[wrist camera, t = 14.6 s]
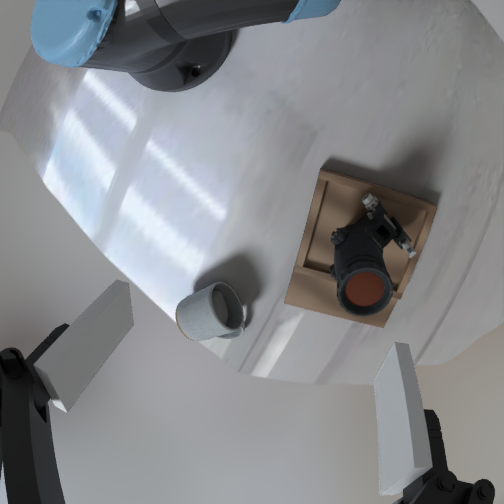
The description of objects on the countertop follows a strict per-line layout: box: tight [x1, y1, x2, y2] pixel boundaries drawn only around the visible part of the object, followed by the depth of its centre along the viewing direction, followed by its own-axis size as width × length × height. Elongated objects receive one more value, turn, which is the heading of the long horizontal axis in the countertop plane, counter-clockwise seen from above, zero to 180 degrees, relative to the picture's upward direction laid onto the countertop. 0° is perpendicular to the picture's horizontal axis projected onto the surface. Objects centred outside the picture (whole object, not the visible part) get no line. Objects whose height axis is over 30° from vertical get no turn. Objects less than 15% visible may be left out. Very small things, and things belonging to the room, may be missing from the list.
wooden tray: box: [284, 168, 437, 328], centre depth 40 cm, size 20×16×2 cm
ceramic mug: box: [176, 282, 245, 341], centre depth 46 cm, size 11×8×8 cm
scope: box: [330, 193, 416, 317], centre depth 33 cm, size 8×14×10 cm
